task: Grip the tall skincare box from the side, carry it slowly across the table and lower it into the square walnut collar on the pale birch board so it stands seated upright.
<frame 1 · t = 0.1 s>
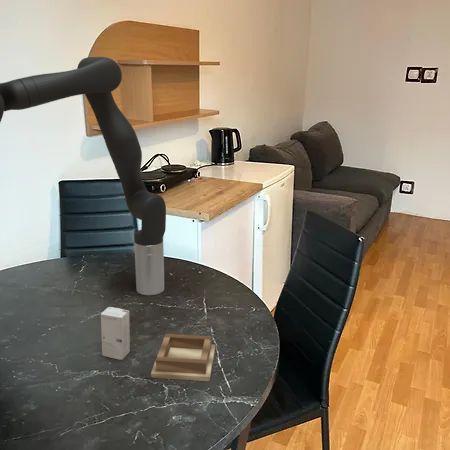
skincare box: (116, 354, 123), on the table
socket board: (184, 362, 120), on the table
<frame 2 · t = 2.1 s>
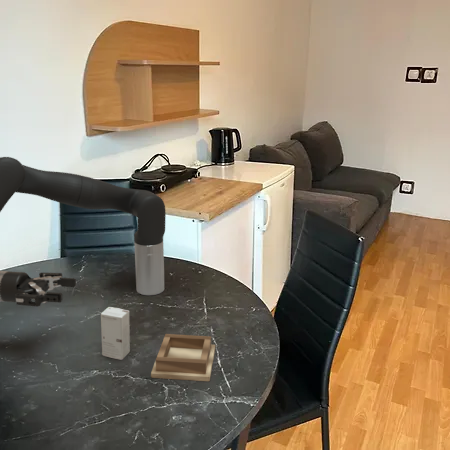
hand: (69, 290, 118), 17 cm above the table, tool horizontal, fingers open, 8 cm apart
nothing on the table moved.
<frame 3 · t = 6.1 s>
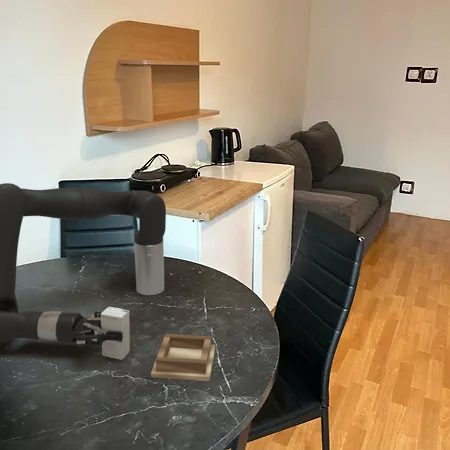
hand: (125, 330, 121), 7 cm above the table, tool horizontal, fingers closed on skincare box, 5 cm apart
skincare box: (116, 354, 123), on the table, touching gripper
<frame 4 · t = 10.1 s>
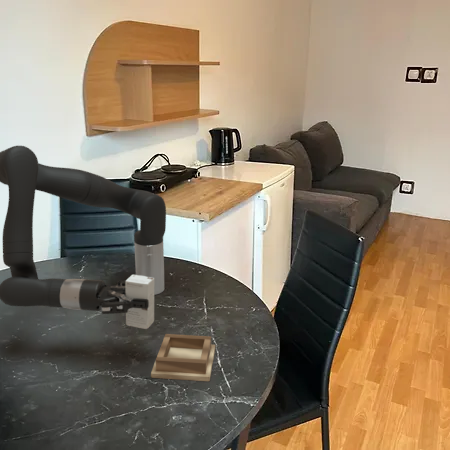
hand: (150, 298, 117), 17 cm above the table, tool horizontal, fingers closed on skincare box, 5 cm apart
skincare box: (140, 324, 119), point 9 cm above the table, touching gripper
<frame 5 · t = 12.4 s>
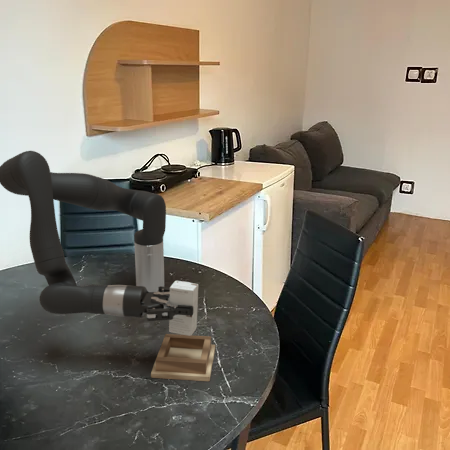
hand: (194, 305, 115), 16 cm above the table, tool horizontal, fingers closed on skincare box, 5 cm apart
skincare box: (183, 330, 117), point 9 cm above the table, touching gripper
when the fingers open (10 cm above the table, at t = 14.2 s): skincare box drops 1 cm, resting on socket board.
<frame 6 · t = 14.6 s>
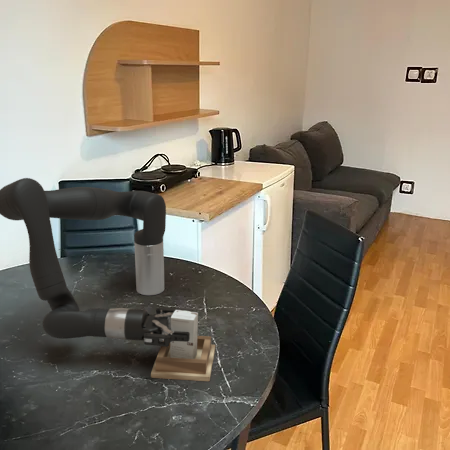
hand: (192, 327, 117), 10 cm above the table, tool horizontal, fingers open, 8 cm apart
skincare box: (184, 358, 120), point 1 cm above the table, touching socket board
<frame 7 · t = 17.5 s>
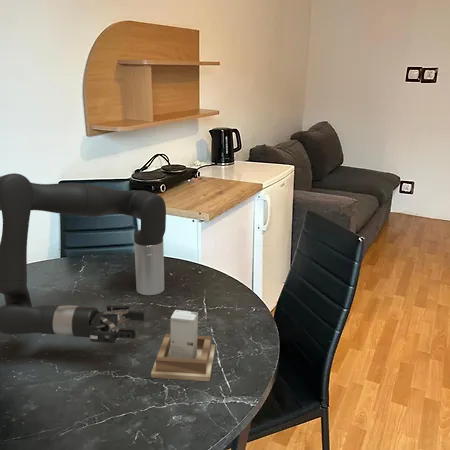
hand: (140, 324, 118), 10 cm above the table, tool horizontal, fingers open, 8 cm apart
nothing on the table moved.
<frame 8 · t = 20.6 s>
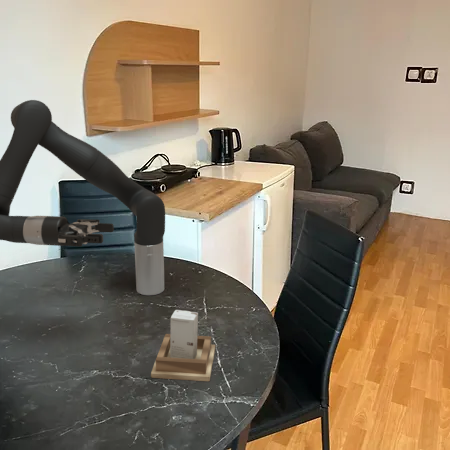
hand: (108, 233, 122), 30 cm above the table, tool horizontal, fingers open, 8 cm apart
nothing on the table moved.
at the end: skincare box 0.4 cm off-centre on the socket board, point 1.0 cm above the socket board's base; skincare box tilted 0°; the gripper is holding nothing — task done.
